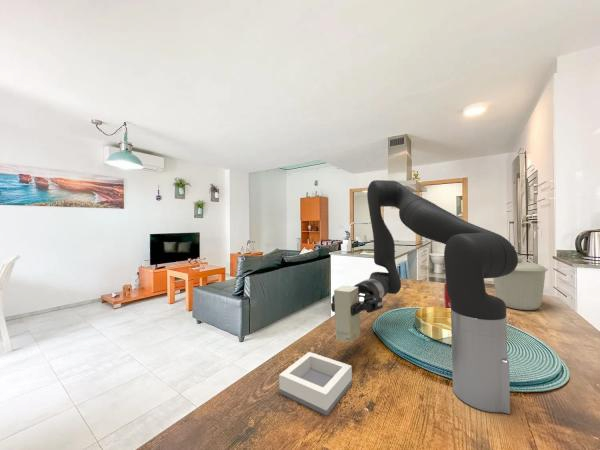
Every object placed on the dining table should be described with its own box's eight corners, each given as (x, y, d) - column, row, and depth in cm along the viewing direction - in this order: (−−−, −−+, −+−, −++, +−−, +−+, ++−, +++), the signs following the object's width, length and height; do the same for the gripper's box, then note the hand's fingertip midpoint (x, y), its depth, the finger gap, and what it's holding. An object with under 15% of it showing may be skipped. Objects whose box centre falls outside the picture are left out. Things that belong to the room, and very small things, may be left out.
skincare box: (352, 343, 59) (350, 292, 60) (334, 339, 62) (333, 290, 62) (360, 333, 65) (359, 286, 65) (344, 330, 67) (343, 284, 67)
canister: (486, 306, 104) (484, 256, 104) (495, 297, 116) (493, 252, 116) (547, 317, 91) (545, 259, 91) (550, 306, 103) (548, 254, 103)
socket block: (352, 383, 56) (351, 365, 56) (326, 416, 47) (326, 394, 47) (309, 367, 63) (308, 351, 63) (279, 393, 54) (279, 374, 54)
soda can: (469, 313, 97) (468, 282, 97) (451, 314, 97) (450, 283, 97) (458, 307, 104) (457, 278, 104) (441, 308, 104) (440, 279, 104)
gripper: (345, 278, 79) (316, 290, 65) (391, 283, 71) (370, 298, 57) (346, 302, 79) (317, 319, 65) (392, 309, 71) (371, 331, 57)
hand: (342, 309), depth 61 cm, fingers closed on skincare box, 4 cm apart
